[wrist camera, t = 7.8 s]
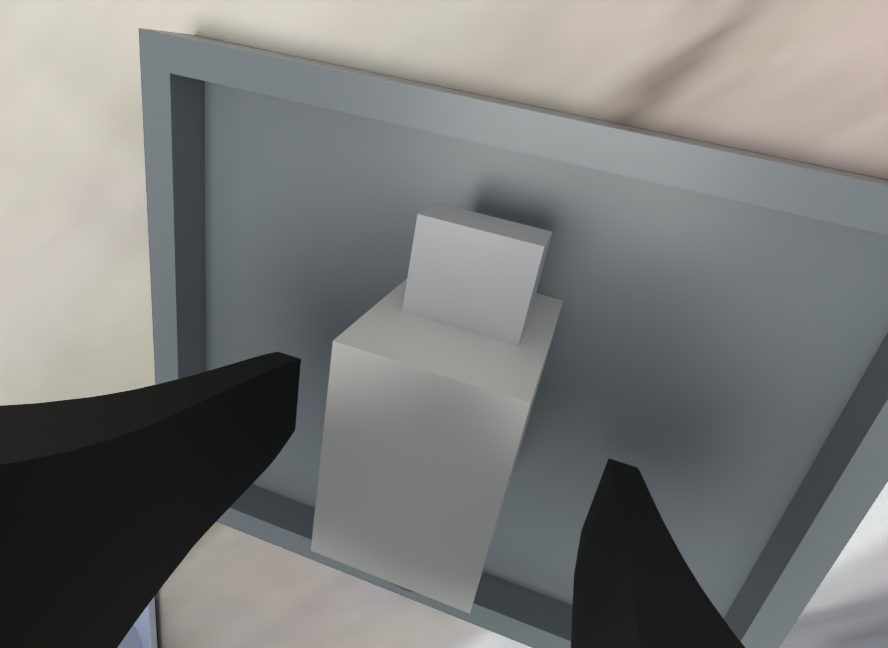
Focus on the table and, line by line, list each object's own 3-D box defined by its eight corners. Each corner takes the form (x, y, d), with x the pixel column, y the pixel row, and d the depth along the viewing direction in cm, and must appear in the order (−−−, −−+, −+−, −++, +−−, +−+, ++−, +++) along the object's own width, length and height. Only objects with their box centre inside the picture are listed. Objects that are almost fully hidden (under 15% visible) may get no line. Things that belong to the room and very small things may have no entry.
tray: (718, 665, 17) (727, 725, 15) (198, 467, 20) (160, 499, 19) (995, 202, 11) (1058, 221, 9) (192, 35, 14) (138, 27, 13)
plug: (496, 529, 17) (447, 689, 12) (386, 489, 17) (302, 626, 13) (586, 218, 13) (563, 288, 8) (439, 182, 13) (345, 228, 9)
